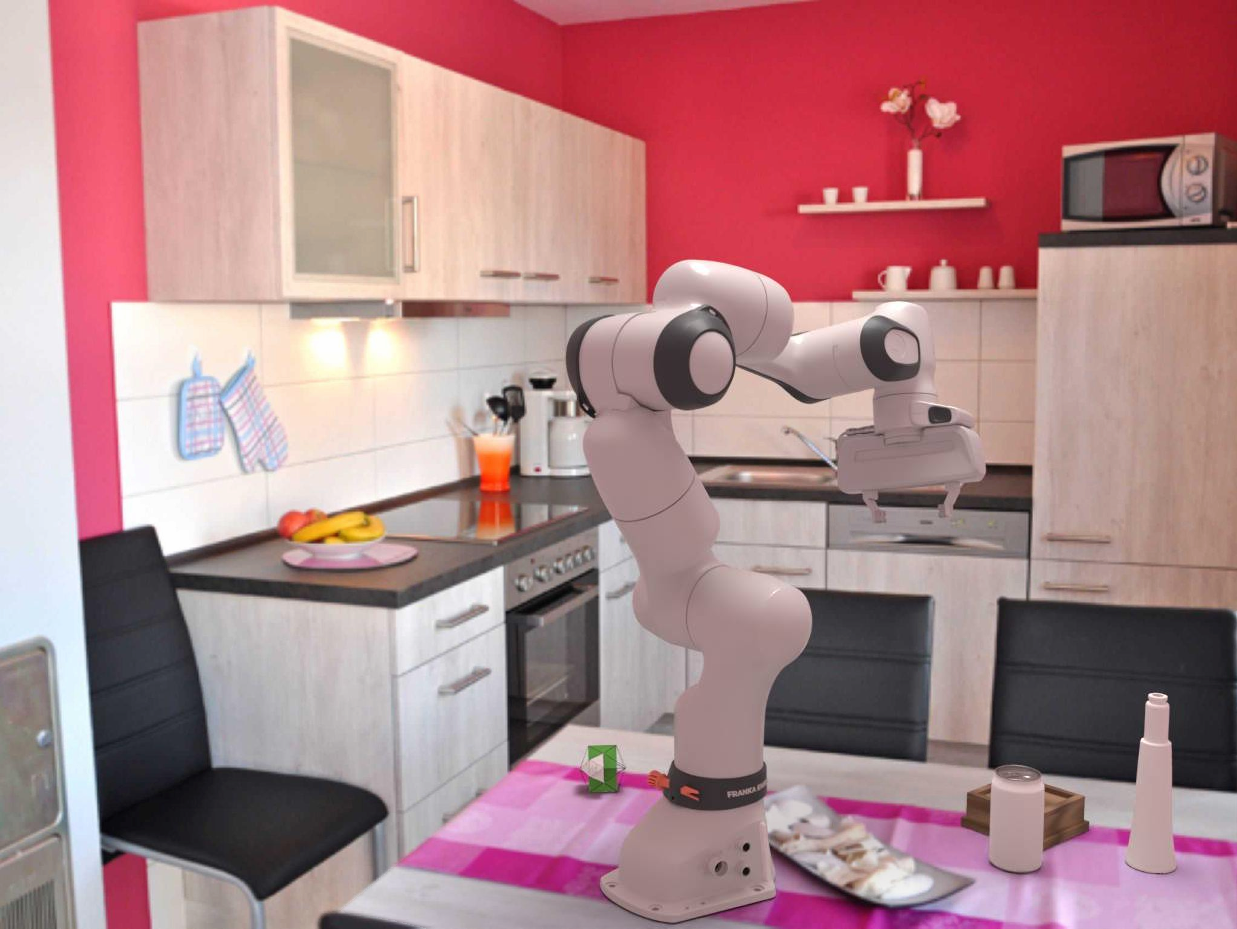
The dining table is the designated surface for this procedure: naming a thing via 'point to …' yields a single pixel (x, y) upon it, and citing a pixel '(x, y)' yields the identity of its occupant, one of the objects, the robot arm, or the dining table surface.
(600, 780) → the geometric puzzle
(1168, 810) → the pink bottle
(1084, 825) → the pedestal
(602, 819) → the dining table surface
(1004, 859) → the can
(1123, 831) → the dining table surface
